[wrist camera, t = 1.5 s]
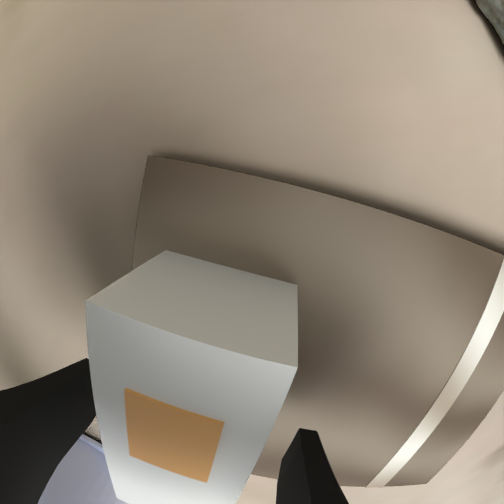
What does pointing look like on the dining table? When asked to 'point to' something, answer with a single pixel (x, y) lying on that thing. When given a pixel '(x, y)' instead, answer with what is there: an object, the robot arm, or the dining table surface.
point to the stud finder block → (189, 376)
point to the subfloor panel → (349, 314)
